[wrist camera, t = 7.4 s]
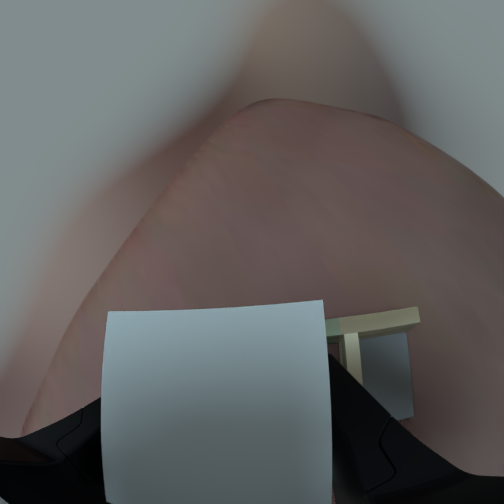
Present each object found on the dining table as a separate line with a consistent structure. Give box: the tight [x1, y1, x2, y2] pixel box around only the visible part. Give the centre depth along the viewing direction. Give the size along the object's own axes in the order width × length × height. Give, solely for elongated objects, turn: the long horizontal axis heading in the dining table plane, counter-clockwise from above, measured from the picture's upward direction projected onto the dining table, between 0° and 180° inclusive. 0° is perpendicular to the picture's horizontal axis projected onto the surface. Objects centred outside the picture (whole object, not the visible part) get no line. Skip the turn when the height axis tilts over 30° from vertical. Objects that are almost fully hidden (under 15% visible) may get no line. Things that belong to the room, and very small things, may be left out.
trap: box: [325, 306, 420, 421], centre depth 16 cm, size 7×18×3 cm, turn 92°
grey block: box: [101, 300, 332, 504], centre depth 9 cm, size 4×4×11 cm
